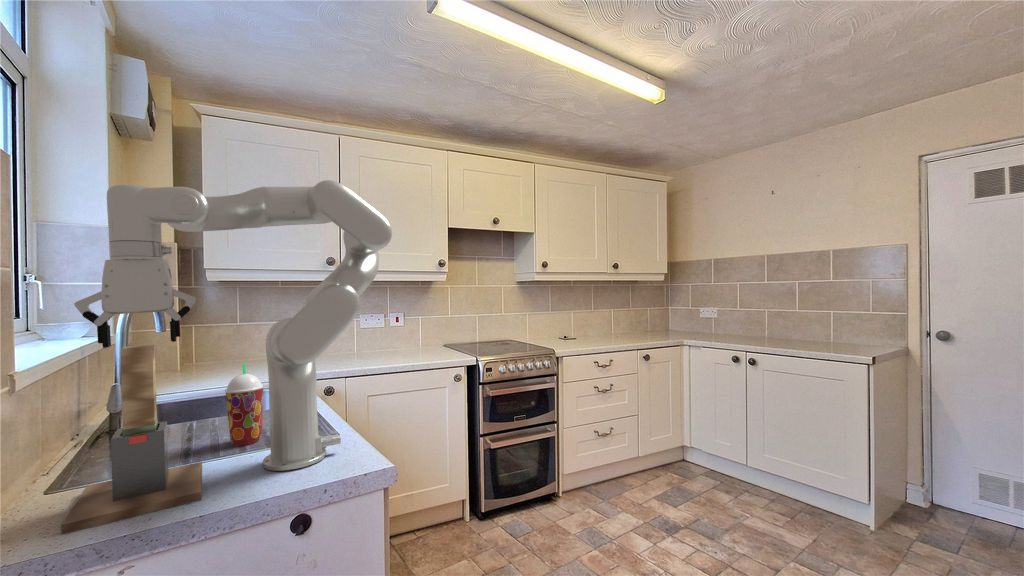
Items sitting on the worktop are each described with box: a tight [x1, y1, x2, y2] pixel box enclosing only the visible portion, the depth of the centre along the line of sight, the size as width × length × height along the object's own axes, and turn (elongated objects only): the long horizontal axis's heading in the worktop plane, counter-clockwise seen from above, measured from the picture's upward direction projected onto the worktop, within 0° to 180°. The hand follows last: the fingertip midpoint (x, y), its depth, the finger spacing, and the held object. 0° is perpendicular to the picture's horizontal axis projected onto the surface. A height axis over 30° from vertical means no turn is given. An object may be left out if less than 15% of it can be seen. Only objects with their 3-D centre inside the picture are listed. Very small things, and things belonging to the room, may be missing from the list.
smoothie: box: [224, 362, 264, 447], centre depth 111 cm, size 8×8×20 cm
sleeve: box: [110, 420, 169, 502], centre depth 82 cm, size 7×8×11 cm
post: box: [120, 344, 159, 436], centre depth 82 cm, size 5×5×18 cm
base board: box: [60, 461, 203, 535], centre depth 82 cm, size 18×18×2 cm
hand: (141, 344), depth 82 cm, fingers open, 9 cm apart
